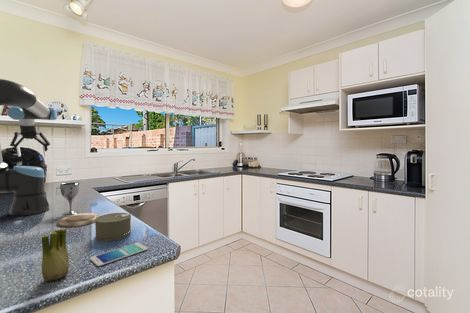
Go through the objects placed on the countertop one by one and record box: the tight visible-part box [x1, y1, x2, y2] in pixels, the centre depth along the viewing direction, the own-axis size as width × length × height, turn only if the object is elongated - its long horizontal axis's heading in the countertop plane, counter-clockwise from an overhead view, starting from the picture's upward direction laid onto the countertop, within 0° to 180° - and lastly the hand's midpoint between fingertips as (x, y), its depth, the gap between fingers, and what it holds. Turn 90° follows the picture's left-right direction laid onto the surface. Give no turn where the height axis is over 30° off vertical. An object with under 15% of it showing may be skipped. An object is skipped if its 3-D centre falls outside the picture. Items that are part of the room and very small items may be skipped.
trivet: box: [57, 212, 99, 228], centre depth 104 cm, size 16×16×1 cm
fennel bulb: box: [41, 228, 70, 282], centre depth 58 cm, size 6×5×12 cm
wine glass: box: [59, 181, 81, 216], centre depth 116 cm, size 8×8×15 cm
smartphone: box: [89, 242, 149, 268], centre depth 71 cm, size 7×1×15 cm
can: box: [94, 212, 132, 242], centre depth 87 cm, size 12×12×7 cm
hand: (32, 155), depth 156 cm, fingers open, 13 cm apart
